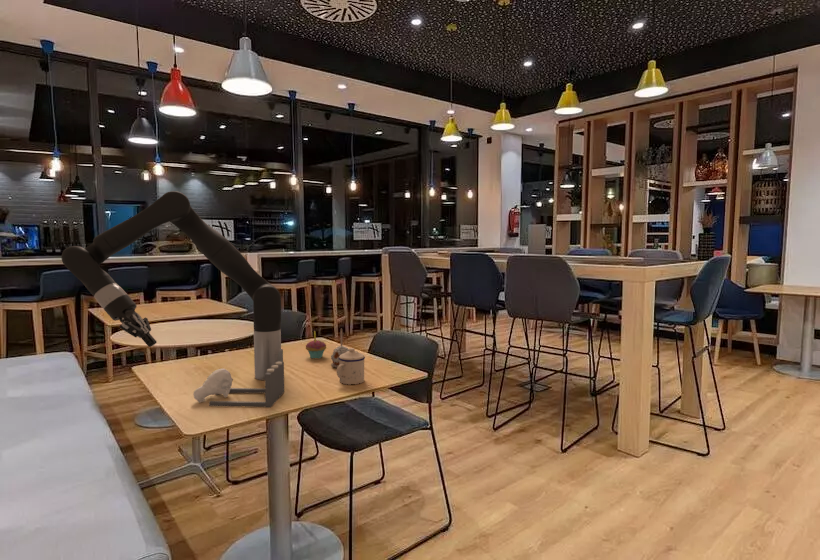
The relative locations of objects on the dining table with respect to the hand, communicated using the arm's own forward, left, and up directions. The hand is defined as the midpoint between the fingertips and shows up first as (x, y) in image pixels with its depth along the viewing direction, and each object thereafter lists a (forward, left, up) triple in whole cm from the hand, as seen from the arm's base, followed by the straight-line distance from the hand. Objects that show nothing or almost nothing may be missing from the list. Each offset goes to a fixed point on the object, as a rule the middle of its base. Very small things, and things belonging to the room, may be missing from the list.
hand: (153, 344), depth 141 cm
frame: (-29, -1, -17) cm, 33 cm away
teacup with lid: (-57, -19, -17) cm, 63 cm away
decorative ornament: (-51, -39, -17) cm, 67 cm away
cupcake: (-38, -52, -17) cm, 67 cm away
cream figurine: (-17, -1, -17) cm, 24 cm away
